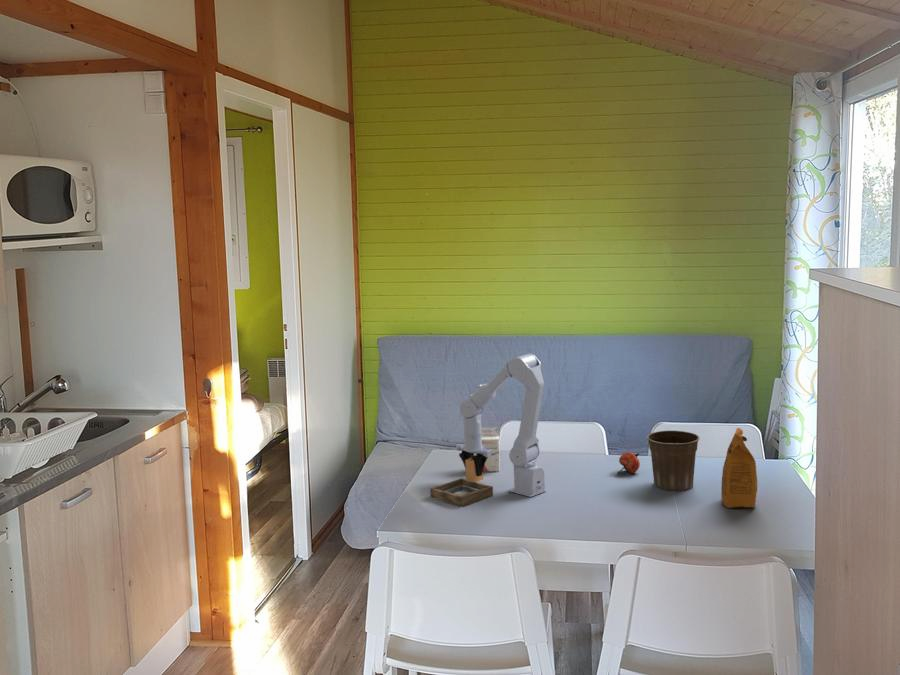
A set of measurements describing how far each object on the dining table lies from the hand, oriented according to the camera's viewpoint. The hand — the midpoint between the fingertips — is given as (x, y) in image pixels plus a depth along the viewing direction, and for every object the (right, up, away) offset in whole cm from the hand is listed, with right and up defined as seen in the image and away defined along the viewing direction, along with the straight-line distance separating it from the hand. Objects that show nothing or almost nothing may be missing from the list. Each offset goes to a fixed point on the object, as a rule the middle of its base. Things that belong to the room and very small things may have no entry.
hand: (474, 474), depth 284 cm
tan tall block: (0, -2, 0) cm, 2 cm away
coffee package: (+78, -4, -30) cm, 84 cm away
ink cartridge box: (+5, -1, +15) cm, 16 cm away
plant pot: (+64, -2, -11) cm, 64 cm away
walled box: (-4, -5, -14) cm, 15 cm away
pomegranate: (+52, -1, +5) cm, 53 cm away
